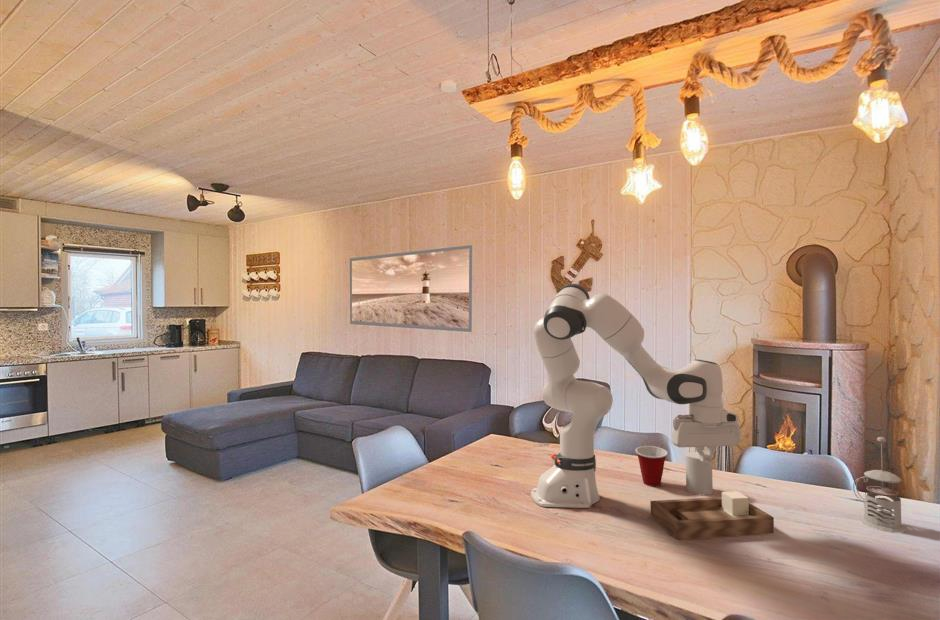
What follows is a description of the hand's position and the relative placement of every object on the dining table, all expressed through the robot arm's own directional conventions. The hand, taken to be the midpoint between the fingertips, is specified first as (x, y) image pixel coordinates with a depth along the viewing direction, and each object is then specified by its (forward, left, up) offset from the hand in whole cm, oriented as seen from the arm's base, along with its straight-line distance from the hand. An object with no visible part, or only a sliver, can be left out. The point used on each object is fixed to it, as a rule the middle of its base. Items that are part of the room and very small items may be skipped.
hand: (705, 461), depth 139 cm
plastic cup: (-2, +29, -17) cm, 34 cm away
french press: (+47, -9, -17) cm, 50 cm away
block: (+8, -1, -15) cm, 17 cm away
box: (-1, -4, -17) cm, 17 cm away
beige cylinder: (+11, +21, -17) cm, 29 cm away
